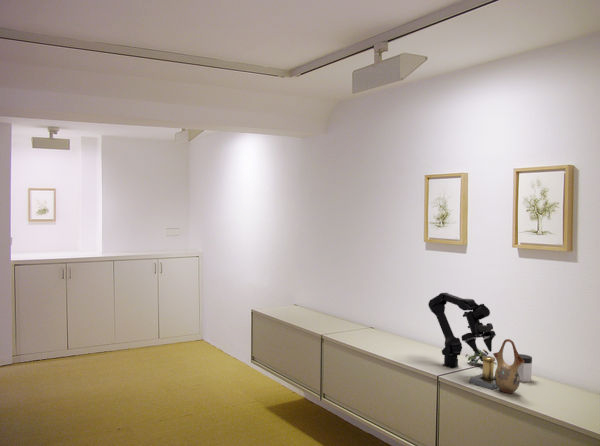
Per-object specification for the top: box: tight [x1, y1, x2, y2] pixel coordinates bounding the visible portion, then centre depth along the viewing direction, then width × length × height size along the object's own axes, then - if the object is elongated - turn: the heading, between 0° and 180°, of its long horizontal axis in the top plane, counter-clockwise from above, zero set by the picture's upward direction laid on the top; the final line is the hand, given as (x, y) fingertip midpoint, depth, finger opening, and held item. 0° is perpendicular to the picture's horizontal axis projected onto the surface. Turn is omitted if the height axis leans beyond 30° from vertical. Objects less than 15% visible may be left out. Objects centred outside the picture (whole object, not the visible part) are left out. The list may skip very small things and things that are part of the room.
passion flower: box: [465, 347, 489, 367], centre depth 293 cm, size 11×11×12 cm
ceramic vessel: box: [492, 338, 524, 394], centre depth 249 cm, size 16×9×25 cm, turn 32°
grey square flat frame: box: [469, 373, 499, 390], centre depth 260 cm, size 12×12×2 cm
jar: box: [518, 353, 533, 383], centre depth 269 cm, size 9×8×12 cm
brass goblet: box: [481, 355, 496, 381], centre depth 260 cm, size 6×6×13 cm
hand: (484, 352), depth 267 cm, fingers open, 9 cm apart
